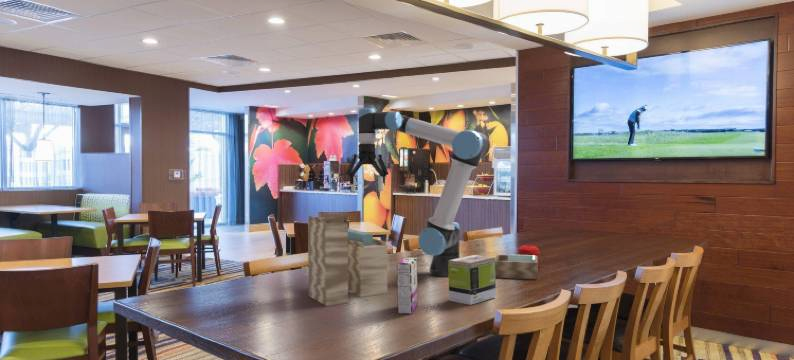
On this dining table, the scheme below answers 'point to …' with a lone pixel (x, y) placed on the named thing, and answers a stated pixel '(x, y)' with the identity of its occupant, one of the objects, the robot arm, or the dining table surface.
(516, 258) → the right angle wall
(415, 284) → the candy bar box
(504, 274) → the caddy
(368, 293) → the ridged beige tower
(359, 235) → the bar
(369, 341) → the dining table surface
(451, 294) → the tea box
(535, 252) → the apple
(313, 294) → the stand
